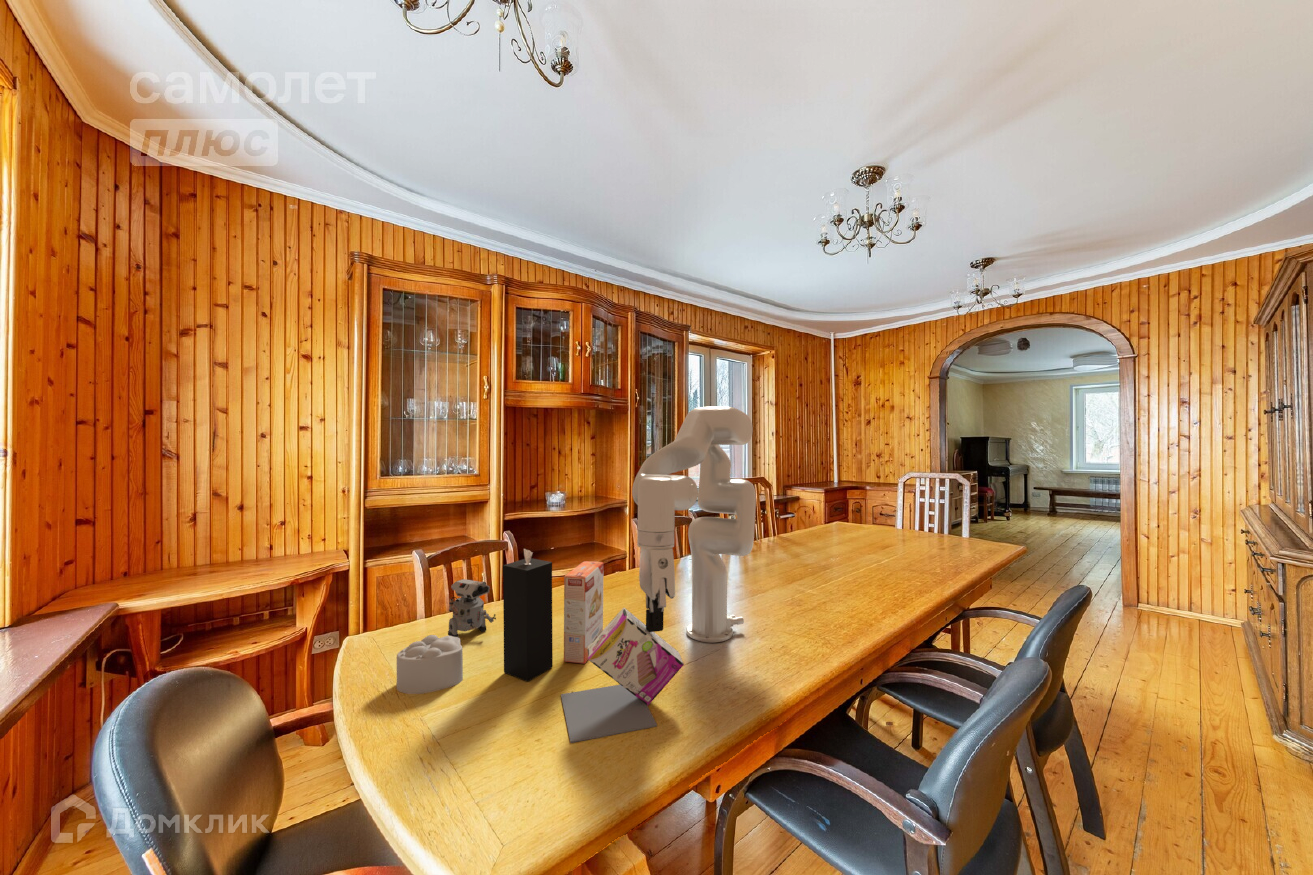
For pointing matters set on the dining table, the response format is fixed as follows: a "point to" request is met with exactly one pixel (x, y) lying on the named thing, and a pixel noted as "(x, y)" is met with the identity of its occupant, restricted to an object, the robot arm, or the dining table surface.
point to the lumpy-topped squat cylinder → (430, 665)
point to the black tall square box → (527, 617)
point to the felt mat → (604, 713)
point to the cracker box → (582, 609)
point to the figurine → (468, 607)
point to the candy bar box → (635, 656)
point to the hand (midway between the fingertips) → (654, 629)
